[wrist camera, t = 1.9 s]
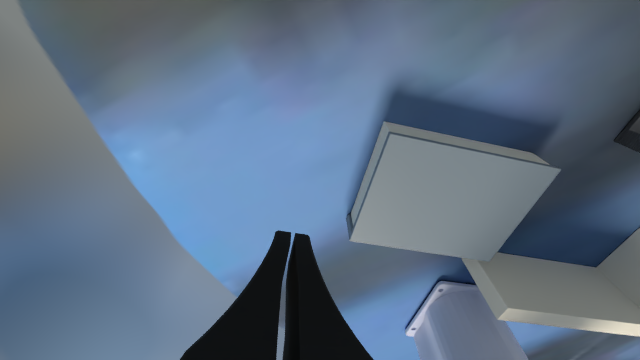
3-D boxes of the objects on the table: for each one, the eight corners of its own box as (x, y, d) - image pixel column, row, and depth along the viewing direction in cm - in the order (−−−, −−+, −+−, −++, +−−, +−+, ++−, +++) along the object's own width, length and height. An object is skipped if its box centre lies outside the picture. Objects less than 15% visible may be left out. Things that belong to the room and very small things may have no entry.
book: (471, 236, 26) (489, 261, 23) (345, 216, 24) (349, 241, 21) (531, 149, 21) (561, 169, 18) (380, 117, 19) (390, 133, 17)
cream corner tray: (597, 279, 28) (659, 338, 23) (461, 259, 26) (497, 319, 21) (738, 154, 21) (873, 202, 16) (563, 113, 19) (655, 153, 14)
